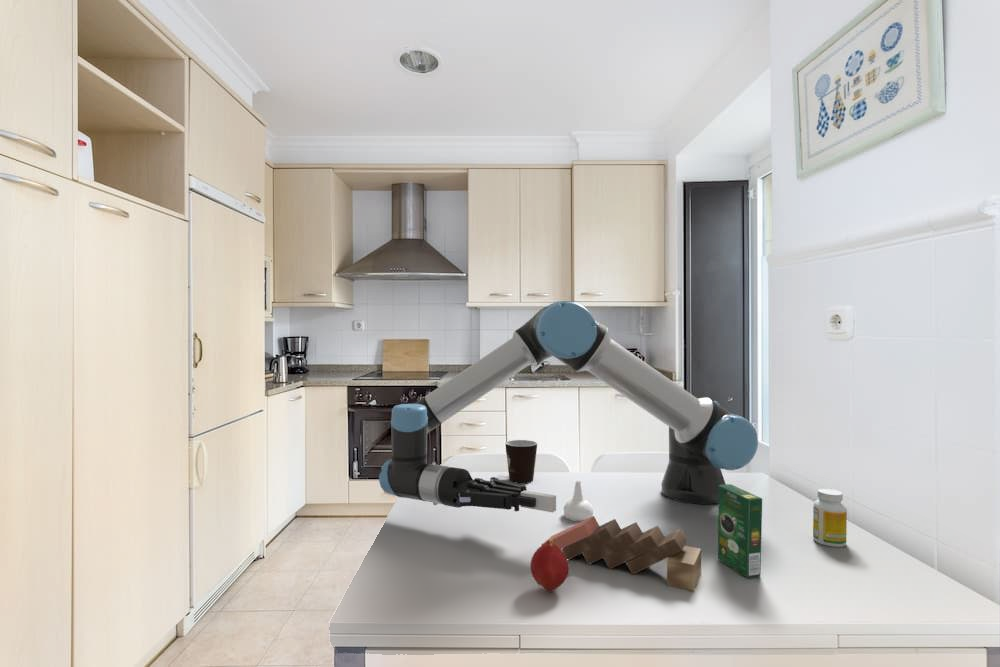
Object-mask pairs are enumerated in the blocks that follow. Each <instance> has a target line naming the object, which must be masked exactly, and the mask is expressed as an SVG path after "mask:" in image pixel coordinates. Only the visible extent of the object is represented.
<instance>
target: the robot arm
mask: <svg viewBox="0 0 1000 667" xmlns="http://www.w3.org/2000/svg"><path fill="white" fill-rule="evenodd" d="M552 357H554V358H555V359H557V360H558V361H560V362H561V363H563V364H565V365H566V366H567V367H569V368H570V369H571V370H573V371H575V372H577V373H579V372H584V371H587V372H589V373H590V374H591V375H593V376H594V377H595V378H598V379H599V380H600V381H602V382H603V383H605V384H606V385H608V386H609V387H611V389H613V390H615V391H617V393H619V394H620V395H622V396H624V398H626V399H628V401H629V400H630V402H633V403H634V404H636V405H637V406H639V407H640V409H643V411H644V410H645V412H646V413H648V414H650V415H651V416H653V417H655V419H657V420H659V421H660V422H661V423H663V424H664V425H665V426H667V427H668V464H667V467H666V469H665V473H664V475H663V478H662V480H661V493H662V494H663V495H664V496H665V497H667V498H669V499H671V500H675V501H679V502H683V503H690V504H700V505H711V504H718V503H719V485H725V484H726V481H725V478H724V475H723V472H722V470H726V471H735V470H739V469H742V468H744V467H745V466H748V464H750V462H751V461H752V460H753V459H754V457H755V455H756V453H757V450H758V447H759V446H758V445H759V441H758V433H757V430H756V428H755V426H754V425H753V424H752V423H751V422H750V421H749V420H748V419H746V418H745V417H743V416H740V415H738V414H734V413H732V412H730V411H729V410H727V409H726V408H724V407H723V406H721V405H720V403H719V402H718V401H716V400H713V399H711V398H710V397H706V396H705V397H699V398H698V397H696V396H695V395H693V394H691V393H690V392H689V391H687V390H686V389H685V388H684V387H682V386H680V385H679V384H678V383H676V382H674V381H672V380H671V379H670V378H669V377H667V376H665V375H664V374H663V373H661V372H660V371H658V370H657V369H655V368H654V367H652V366H651V365H649V364H648V363H646V362H645V361H644V360H642V359H641V358H640V357H638V356H636V354H634V353H632V352H631V351H629V350H628V349H626V348H625V347H624V346H622V345H621V344H619V343H617V341H616V340H613V339H612V338H611V337H610V333H609V328H608V327H607V326H606V325H605V324H603V323H601V322H600V321H599V320H597V319H596V318H594V316H593V315H592V314H591V312H590V311H589V310H588V309H587V308H586V307H584V305H582V304H579V303H577V302H574V301H569V300H561V301H557V302H553V303H550V304H548V306H547V305H546V306H545V307H543V308H541V309H539V311H537V312H536V313H535V314H534V315H533V316H532V317H530V319H529V320H528V321H526V322H525V323H523V325H522V326H520V327H519V328H517V329H515V330H514V331H513V333H512V337H511V338H509V340H507V341H506V342H504V343H502V344H501V345H499V346H498V347H496V348H495V349H494V350H492V351H491V352H489V353H487V354H486V355H485V356H483V357H481V358H480V359H479V360H477V361H476V362H474V363H473V364H471V365H470V366H469V367H468V366H467V368H465V369H464V370H462V371H460V372H459V373H458V374H456V375H454V377H451V378H450V379H449V380H447V381H446V382H444V383H443V384H442V385H440V386H438V387H437V388H435V389H434V390H432V391H431V392H429V393H428V394H426V395H425V396H424V397H423V398H421V399H419V400H418V401H416V402H414V403H402V404H397V405H394V406H393V408H392V409H391V419H390V425H391V427H390V428H391V438H390V439H391V442H390V443H391V455H390V456H391V457H390V459H387V460H386V461H385V462H384V464H383V465H382V467H381V471H380V473H379V476H378V479H379V480H378V482H379V486H380V488H381V489H382V490H383V491H384V493H386V494H388V495H392V496H396V497H397V498H402V499H404V498H405V499H410V500H416V501H417V500H418V501H422V502H426V503H432V504H433V505H434V506H437V505H438V504H439V505H443V506H447V507H452V508H457V509H458V508H463V507H479V508H489V509H500V510H501V509H502V510H509V511H510V510H512V508H514V512H519V511H520V508H524V509H531V510H537V511H542V512H546V513H547V512H548V513H552V514H553V513H554V512H556V511H557V495H555V494H550V493H543V492H536V491H531V490H527V486H526V485H525V484H524V485H521V484H519V483H513V482H511V481H506V480H501V479H499V478H496V477H494V476H493V477H492V476H491V477H490V478H489V479H490V480H485V479H483V478H482V477H481V478H479V477H476V478H475V477H474V479H473V477H472V476H471V473H470V472H469V470H467V469H466V468H462V467H461V468H460V467H453V466H448V465H443V464H442V465H441V464H433V463H428V434H429V433H430V432H432V431H433V430H434V429H436V428H437V427H439V426H440V425H442V424H443V423H444V422H446V421H447V420H449V419H451V417H452V418H453V416H455V415H457V414H458V413H459V412H460V411H462V410H464V409H465V408H468V406H470V405H471V404H473V403H474V402H475V401H478V399H480V398H482V397H483V396H485V395H487V394H488V393H489V392H491V391H492V390H494V389H495V388H497V387H498V386H499V385H501V384H502V383H504V382H506V381H507V380H509V379H511V377H513V376H514V375H516V374H518V373H520V371H521V372H522V370H524V369H525V368H526V367H528V366H530V365H533V366H537V365H539V364H540V363H541V362H543V361H544V360H547V359H549V358H552ZM721 469H722V470H721Z"/></svg>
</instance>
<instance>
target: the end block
mask: <svg viewBox="0 0 1000 667" xmlns="http://www.w3.org/2000/svg"><path fill="white" fill-rule="evenodd" d="M701 574H702V548H699V547H693V546H688V545H685V546H684V548H683V550H682V551H680V552H678V553H676V554H674V555H672V556H670V557H668V558H666V586H670V587H675V588H678V589H683V590H688V591H692V592H695V590H696V587H697V585H698V582H699V580H698V579H700V577H701Z"/></svg>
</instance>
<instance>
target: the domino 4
mask: <svg viewBox="0 0 1000 667" xmlns="http://www.w3.org/2000/svg"><path fill="white" fill-rule="evenodd" d="M665 536H666V535H664V533H663V531H662V529H661V528H660V527H659V525H656V526H654V527H652V528H649V529H648V530H646V531H644V532H643V531H642V534H641V536H640V537H639V538H638V539H637V541H636V542H635V543H633V544H631V545H629V546H627V547H625V548H623V549H621V550H619V551H616V552H614V553H612V554H610V555H608V556H606V557H604V558H602V559H603V561H604V563H605V565H607V567H608V569H609V570H612V569H614V568H616V567H617V566H620V565H622V564H624V563H626V562H627V561H629V560H631V559H633V558H635V557H637V556H639V555H642V554H644V553H646V552H648V551H650V550H652V549H654V548H657V547H658V546H659V544H660V543H661V541H662V540H663V538H664V537H665Z"/></svg>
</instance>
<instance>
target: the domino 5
mask: <svg viewBox="0 0 1000 667" xmlns="http://www.w3.org/2000/svg"><path fill="white" fill-rule="evenodd" d="M664 536H665V537H664V538H663V540H662V541H661V543H660V544H659V546H658V547H657V548H654V549H652V550H650V551H648V552H646V553H644V554H642V555H639V556H637V557H635V558H633V559H631V560H629V561H627V562H625V565H626V566H627V569H628V570H629V571H630V573H631V575H635V574H637V573H638V572H641V571H643V570H645V569H646V568H649V567H651V566H653V565H655V564H657V563H659V562H661V561H663V560H667V559H668V557H670V556H672V555H674V554H676V553H678V552H680V551H682V550H683V548H684V546H686V544H687V542H688V538H687V536H686V535H685V534H684V532H683V530H682V529H681V528H679V529H677V530H675V531H673V532H671V533H669V534H667V535H664Z"/></svg>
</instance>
